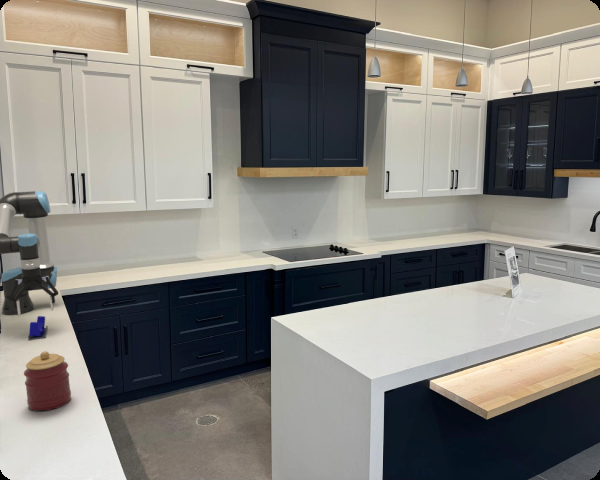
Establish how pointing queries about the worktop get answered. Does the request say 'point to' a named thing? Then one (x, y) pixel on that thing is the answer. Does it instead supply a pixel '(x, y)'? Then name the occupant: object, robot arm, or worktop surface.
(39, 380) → the canister
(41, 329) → the cable clip
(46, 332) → the rail
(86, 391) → the worktop surface
